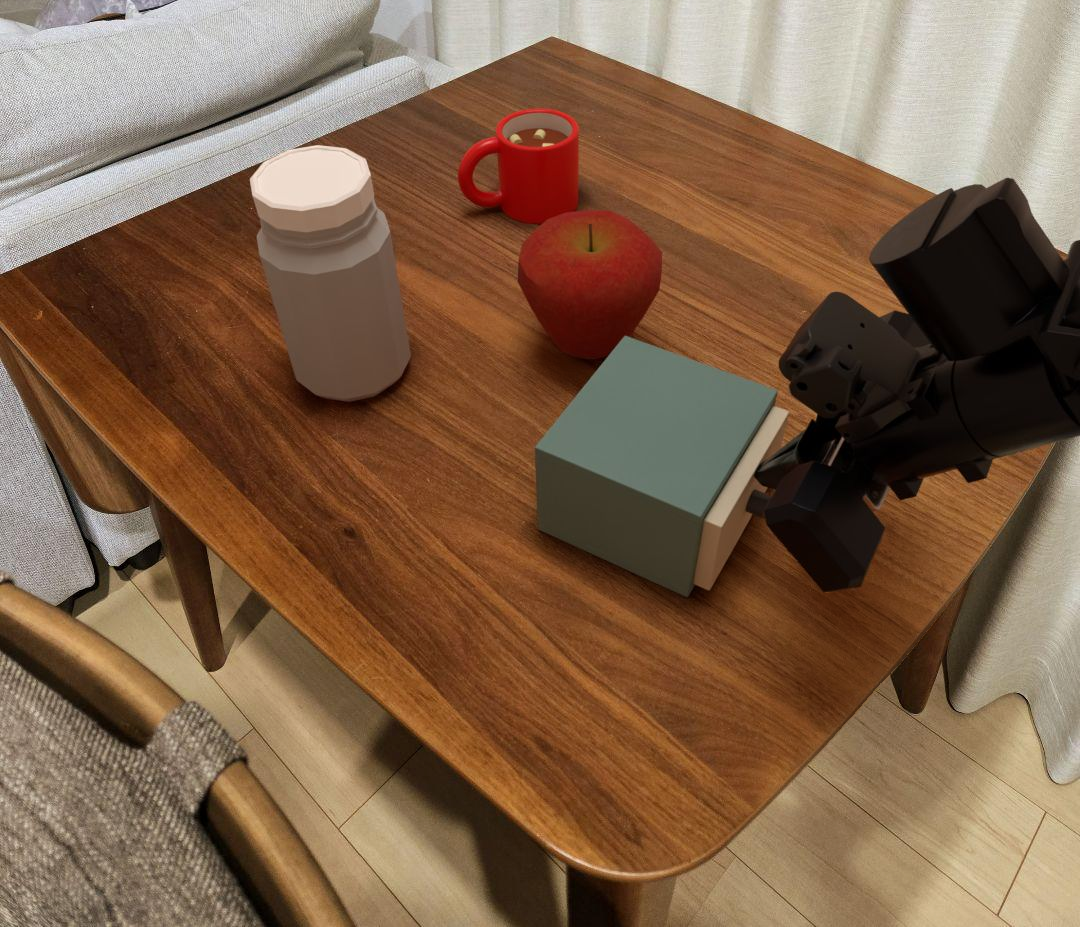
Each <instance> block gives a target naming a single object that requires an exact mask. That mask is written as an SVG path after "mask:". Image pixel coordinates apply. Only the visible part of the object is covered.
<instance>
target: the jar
mask: <svg viewBox="0 0 1080 927" xmlns="http://www.w3.org/2000/svg"><path fill="white" fill-rule="evenodd" d="M249 183H250V189H251V195H252V199H253V202H254V206H255V209H256V213H257V216H258V218H259V222H260V227H261V228H260V229H259V230H258V233H257V234H256V242H257V248H258V254H259V255H258V256H259V258H260V262H261V265H262V268H263V272H264V277H265V279H266V283H267V286H268V290H269V292H270V295H271V296H270V297H271V300H272V303H273V305H274V310H275V312H276V316H277V320H278V323H279V326H280V330H281V332H282V336H283V340H284V343H285V347H286V349H287V350H286V351H287V353H288V356H289V360H290V364H291V368H292V370H293V374H294V377H295V380H296V381H297V382H298V383H299V384H301V386H303V387H304V388H306V389H308V390H309V392H311V393H313V394H314V395H315V396H318V397H320V398H323V399H327V400H334V401H340V402H347V403H351V402H356V401H360V400H364V399H370V398H373V397H376V396H378V395H379V394H381V393H382V392H384V391H385V390H387V389H388V388H390V387H391V386H392V385H394V384H396V383H397V381H398V380H399V379H400V378H402V375H403V373H404V372H405V369H406V367H407V365H408V364H409V361H410V359H411V357H412V352H411V347H410V340H409V336H408V329H407V324H406V318H405V317H406V316H405V311H404V305H403V299H402V293H401V287H400V280H399V274H398V269H397V264H396V263H397V262H396V258H395V250H394V246H393V240H392V234H391V229H390V226H389V222H388V220H387V216H386V214H385V212H384V211H382V210H381V209H380V208H379V207H378V206H377V204H376V201H375V191H374V186H373V180H372V174H371V172H370V168H369V165H368V162H367V159H366V158H365V157H363V156H361V155H359V154H357V153H356V152H354V151H352V150H350V149H349V148H345V147H339V146H330V145H320V144H316V145H310V146H304V147H298V148H292V149H288V150H286V151H284V152H282V153H279V154H277V155H275V156H273V157H271V158H269V159H267V160H265V161H263V162H262V163H261V164H260V166H259V167H258V168H257V169H256V171H255V172H254V173H253V174H252V176H251V177H250V178H249Z"/></svg>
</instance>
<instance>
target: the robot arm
mask: <svg viewBox="0 0 1080 927" xmlns="http://www.w3.org/2000/svg"><path fill="white" fill-rule="evenodd" d="M868 260H869V263H870V264H871V265H872V267H873V268H874V270H875V271H876V272H877V273H878V275H879V276H880V277H881V279H882V281H884V283H885V285H886V286H887V287H888V288H889V290H890V291H891V292H892V294H893V295H894V297H895V298H896V299H897V301H898V302H899V303H900V305H901V306H902V307H903V308H904V310H905V311H906V312H907V313H906V312H903V311H899V310H896V309H895V310H892V311H890V312H888V313H886V314H883V315H881V316H879V315H877V314H876V313H874V312H873V311H871V310H870V309H868V308H867V307H865V306H864V305H862V304H861V303H860V302H858V301H857V300H856V299H854V298H853V297H851V296H850V295H848V294H846V293H844V292H841V291H832V292H830V293H829V294H827V295H826V296H825V298H824V299H823V300H822V301H821V303H820V304H819V305H818V306H817V307H816V308H815V309H814V310H813V312H812V313H811V314H810V315H809V316H808V317H807V319H805V321H804V322H803V323H802V324H801V325H800V326H799V328H798V329H797V330H796V331H795V334H794V336H793V338H792V339H791V340H790V342H789V344H788V345H787V347H786V349H784V351H783V353H782V354H781V356H779V359H778V364H777V365H778V369H779V371H780V373H781V375H782V376H783V377H784V378H785V379H786V380H787V381H788V382H789V384H788V390H789V394H790V395H791V396H792V397H793V398H794V399H796V400H797V401H798V402H799V403H801V404H802V405H804V406H805V407H807V408H808V409H809V410H812V412H814V413H815V414H816V418H815V419H814V418H810V421H809V422H808V424H807V426H806V427H805V429H804V430H802V431H801V432H800V433H799V434H797V435H796V436H795V437H793V438H792V439H790V441H788V442H787V443H786V444H784V445H782V446H781V448H780V449H779V450H778V451H777V452H775V453H774V454H773V455H771V456H770V457H769V458H768V459H766V460H765V461H764V462H762V463H761V464H760V465H759V467H758V468H757V470H756V472H755V474H754V477H755V479H756V480H757V481H758V482H759V483H760V484H761V485H762V486H764V487H768V488H767V489H772V490H774V491H773V494H772V495H771V496H772V497H771V499H770V501H769V503H768V504H767V506H766V508H765V510H764V513H765V516H764V519H765V524H766V527H767V528H768V529H769V530H770V532H771V533H772V534H773V535H774V536H775V538H777V540H778V541H779V542H780V543H781V544H782V546H783V547H784V548H785V549H786V550H787V552H788V553H789V554H790V555H791V557H793V559H794V561H796V562H797V564H799V566H800V567H801V568H802V569H803V570H804V571H805V573H806V574H807V575H808V576H809V577H810V578H811V580H812V581H813V582H814V583H815V585H816V586H817V587H818V588H819V589H820V590H821V592H822V593H836V592H841V591H847V590H852V589H858V588H862V587H863V584H864V582H865V579H866V578H867V575H868V573H869V571H870V568H871V566H872V564H873V561H874V559H875V557H876V555H877V552H878V550H879V547H880V546H881V543H882V540H883V537H884V534H885V530H886V526H885V525H884V524H883V523H882V521H881V519H879V517H878V516H877V515H876V513H875V512H877V511H880V510H881V509H882V506H883V505H884V502H885V500H886V497H887V495H888V493H889V491H890V490H891V491H892V492H893V493H894V495H895V496H896V497H897V499H898V500H899V501H903V500H907V499H911V498H916V497H917V495H918V493H919V491H920V489H921V486H922V483H923V482H924V479H925V478H930V477H933V476H937V475H940V474H944V473H948V472H951V471H955V470H957V471H958V473H960V475H961V476H962V477H963V479H964V480H965V481H966V483H967V484H971V483H975V482H979V481H982V480H986V479H987V477H988V475H989V471H990V470H991V466H992V464H993V461H994V460H997V459H999V458H1003V457H1007V456H1011V455H1014V454H1018V453H1021V452H1025V451H1028V450H1032V449H1037V448H1040V447H1043V446H1047V445H1051V444H1055V443H1058V442H1062V441H1065V440H1069V439H1073V438H1077V437H1080V239H1078V240H1074V241H1072V243H1071V244H1070V246H1069V249H1068V252H1067V255H1066V257H1065V259H1063V258H1062V256H1061V254H1060V253H1059V252H1058V250H1057V249H1056V247H1055V245H1054V244H1053V242H1052V241H1051V240H1050V238H1049V237H1048V235H1047V234H1046V233H1045V231H1044V230H1043V228H1042V227H1041V225H1040V224H1039V223H1038V221H1037V219H1036V218H1035V216H1034V214H1033V213H1032V209H1031V206H1030V203H1029V200H1028V198H1027V196H1026V195H1025V193H1024V191H1023V190H1022V189H1021V188H1020V186H1019V184H1018V183H1017V182H1016V180H1015V178H1011V177H1005V178H1002V179H1001V180H999V181H997V182H996V183H994V184H992V185H990V186H988V187H986V186H985V185H983V184H981V183H979V184H978V183H977V184H976V183H973V184H970V185H965V186H962V187H960V188H957V189H954V188H953V187H950V188H947V189H945V190H943V191H942V192H940V193H938V194H936V195H934V196H933V197H931V198H929V199H928V200H926V201H924V202H923V203H921V204H920V205H919V206H917V207H916V208H914V209H913V210H911V211H910V212H909V213H907V214H906V215H905V216H904V217H902V218H901V219H900V220H898V222H896V223H895V224H894V225H893V226H891V228H889V229H888V230H887V231H886V232H885V234H883V235H882V236H881V238H880V239H879V240H877V242H876V244H875V245H874V246H873V248H872V249H871V251H870V253H869V257H868Z"/></svg>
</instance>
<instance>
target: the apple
mask: <svg viewBox="0 0 1080 927" xmlns="http://www.w3.org/2000/svg"><path fill="white" fill-rule="evenodd" d="M517 260H518V262H517V263H518V265H517V284H518V285H519V288H520V289H521V291H522V294H523V295H524V297H525V300H526V302H527V303H528V306H529V307H530V310H531V311H532V312H533V314H534V316H535V317H536V319H537V321H538V323H539V324H540V325H541V327H542V328H543V330H544V331H545V333H546V334H547V335H548V337H549V339H550V340H551V342H552V344H554V345H555V346H556V347H557V348H558V349H559V350H560V351H562V352H563V353H564V354H567V355H570V356H572V357H574V358H578V359H585V360H597V359H602V358H607V357H608V356H609V355H610V353H611V352H612V351H613V350H614V348H615V347H616V346H617V345H618V343H619V342H620V341H621V340H622V339H623V337H624V336H628V337H630V338H631V336H632V334H633V333H634V331H635V330H636V329H637V328H638V326H639V324H640V323H641V322H642V320H643V319H644V317H645V316H646V314H647V313H648V310H649V309H650V307H651V305H653V304H652V303H653V302H654V300H655V299H656V297H657V296H658V294H659V292H660V288H661V280H662V274H663V252H662V250H661V249H660V247H659V246H658V245H657V243H656V242H655V241H654V240H653V238H652V237H651V236H649V235H648V234H647V233H646V232H645V231H644V230H643V229H642V228H641V227H639V226H638V225H637V224H635V223H634V222H633V221H631V219H629V218H628V217H626V216H624V215H621V214H618V213H615V212H613V211H611V210H607V209H606V210H605V209H604V210H603V209H601V210H600V209H584V210H574V211H573V212H567V213H563V214H560V215H558V216H555V217H552V218H550V219H547V220H546V221H545V222H544V223H540V224H539V225H538V227H536V228H535V230H534V231H532V232H531V233H530V234H529V236H528V237H526V239H525V240H524V241H523V242H522V243H521V248H520V252H519V256H518V259H517Z"/></svg>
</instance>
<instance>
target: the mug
mask: <svg viewBox="0 0 1080 927" xmlns="http://www.w3.org/2000/svg"><path fill="white" fill-rule="evenodd" d="M493 154H496V156H497V172H498V188H499V189H498V190H495V191H483V190H481V189H479V188H478V187H477V186H476V185H475V182H474V179H473V178H474V177H473V175H474V173H475V169H476V167H477V166H478V164H479V163H480V162H481V161H483V159H484V158H486V157H488V156H489V155H493ZM579 154H580V129H579V124H578V122H577V120H575V119H574V118H573V117H572V116H570V114H567V113H565V112H562V111H559V110H556V109H552V108H551V109H550V108H528V109H522V110H519V111H516V112H513V113H509V114H508V115H506V116H505V117H504V118H502V119H500V121H499V122H498V124H496V128H495V136H492V137H487V138H484V139H482V140H480V141H478V142H476V143H475V144H473V145H472V146H471V147H470V148H469V149H468V150H467V151H466V152H465V154H464V155H463V157H462V159H461V160H460V163H459V165H458V170H457V182H458V187H459V190H460V191H461V194H462V195H463V196H464V198H465V199H466V200H468V201H469V202H470V203H472V204H474V205H476V206H479V207H483V208H495V207H496V208H497V207H501V210H502V211H503V213H504V214H505V215H507V216H508V217H509V218H511V219H513V220H514V221H515V220H516V221H519V222H522V223H526V224H539V225H541V224H542V223H544V222H545V221H546V220H547V219H550V218H552V217H555V216H558V215H560V214H563V213H567V212H575V211H576V209H577V207H578V205H579V186H580V184H579V179H580V178H579V176H580V175H579V174H580V173H579V172H580V171H579V170H580V167H579V166H580V165H579V164H580V163H579V162H580V160H579V159H580V158H579V157H580V155H579Z"/></svg>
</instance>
